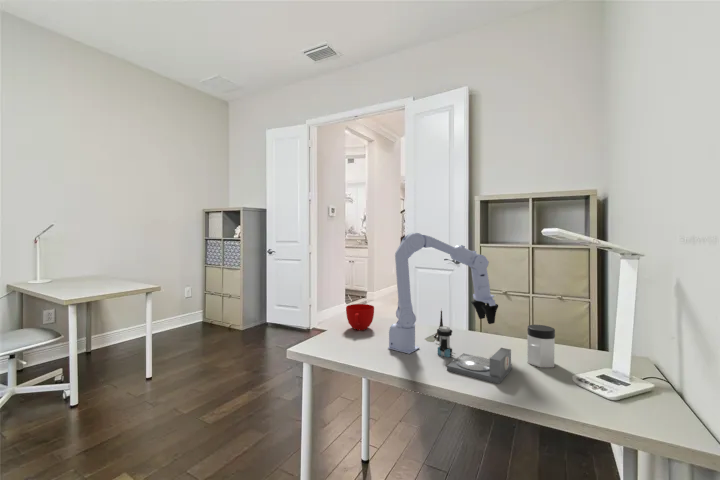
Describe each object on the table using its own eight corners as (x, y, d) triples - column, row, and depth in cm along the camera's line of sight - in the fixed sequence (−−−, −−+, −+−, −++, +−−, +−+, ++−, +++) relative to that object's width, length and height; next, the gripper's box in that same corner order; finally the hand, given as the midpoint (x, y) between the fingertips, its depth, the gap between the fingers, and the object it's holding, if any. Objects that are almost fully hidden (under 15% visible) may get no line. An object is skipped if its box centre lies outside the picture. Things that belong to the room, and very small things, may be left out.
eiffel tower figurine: (437, 333, 149) (437, 303, 149) (459, 338, 143) (459, 306, 142) (420, 341, 138) (420, 309, 137) (443, 347, 131) (443, 313, 131)
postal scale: (446, 370, 108) (447, 350, 108) (463, 357, 119) (463, 339, 119) (500, 384, 98) (501, 362, 97) (513, 369, 109) (513, 349, 108)
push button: (458, 355, 120) (458, 328, 120) (451, 360, 116) (451, 331, 116) (441, 351, 125) (441, 324, 125) (434, 355, 121) (434, 327, 121)
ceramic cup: (341, 334, 146) (341, 311, 146) (349, 324, 163) (349, 303, 163) (371, 335, 144) (371, 312, 144) (375, 325, 161) (375, 304, 160)
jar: (547, 358, 118) (547, 324, 117) (561, 368, 109) (561, 331, 109) (521, 358, 118) (521, 324, 117) (533, 367, 110) (533, 331, 109)
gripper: (501, 286, 120) (506, 323, 121) (482, 281, 135) (487, 314, 135) (482, 289, 120) (488, 327, 120) (465, 284, 134) (471, 317, 134)
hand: (486, 320), depth 128 cm, fingers open, 7 cm apart
